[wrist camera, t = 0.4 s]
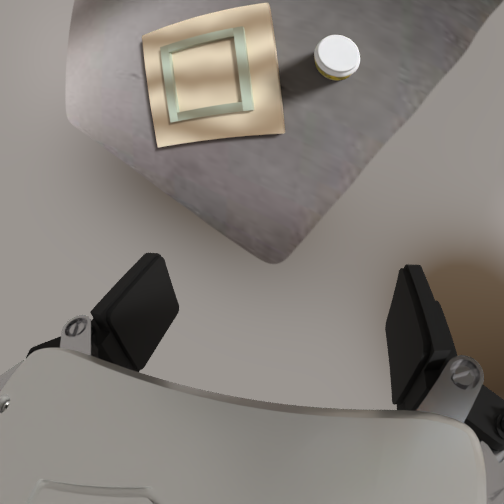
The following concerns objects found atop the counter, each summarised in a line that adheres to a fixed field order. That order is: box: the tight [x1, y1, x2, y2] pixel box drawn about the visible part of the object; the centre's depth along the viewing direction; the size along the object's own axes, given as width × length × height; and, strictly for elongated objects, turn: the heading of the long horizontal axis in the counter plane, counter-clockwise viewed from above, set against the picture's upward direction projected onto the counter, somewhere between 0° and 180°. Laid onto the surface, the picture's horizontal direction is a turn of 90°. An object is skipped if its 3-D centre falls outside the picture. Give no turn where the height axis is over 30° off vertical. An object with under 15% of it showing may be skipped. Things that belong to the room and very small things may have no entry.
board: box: [142, 3, 285, 148], centre depth 29 cm, size 18×18×2 cm
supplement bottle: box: [314, 35, 360, 81], centre depth 23 cm, size 5×5×8 cm
